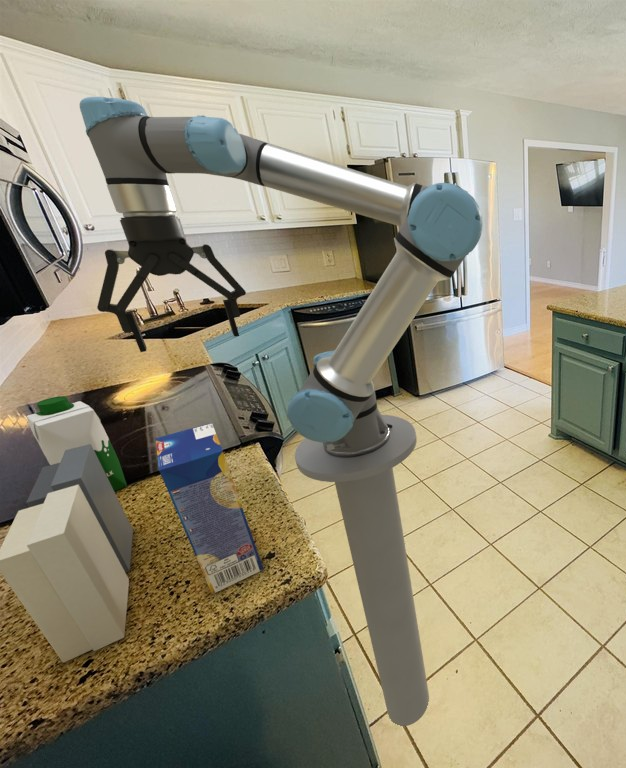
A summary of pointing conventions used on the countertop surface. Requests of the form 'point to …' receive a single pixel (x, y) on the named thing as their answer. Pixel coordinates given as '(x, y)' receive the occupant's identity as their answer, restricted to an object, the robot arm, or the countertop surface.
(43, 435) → the milk carton
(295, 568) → the countertop surface
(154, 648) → the countertop surface
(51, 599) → the cream books
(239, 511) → the beverage box
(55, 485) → the grey books
